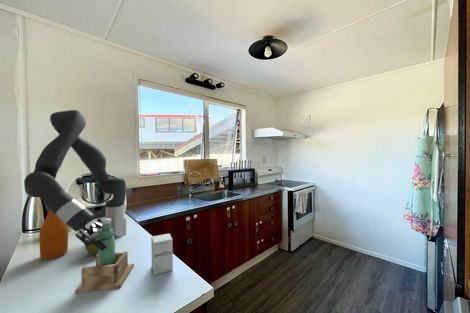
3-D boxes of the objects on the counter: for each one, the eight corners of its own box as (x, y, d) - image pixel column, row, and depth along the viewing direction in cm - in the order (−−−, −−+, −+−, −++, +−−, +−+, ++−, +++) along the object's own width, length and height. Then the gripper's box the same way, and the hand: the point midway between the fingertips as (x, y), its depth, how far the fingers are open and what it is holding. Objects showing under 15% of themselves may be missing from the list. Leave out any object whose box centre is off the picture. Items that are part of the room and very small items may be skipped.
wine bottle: (51, 261, 87) (50, 193, 87) (33, 259, 89) (32, 192, 89) (73, 251, 97) (72, 189, 97) (57, 249, 99) (56, 188, 98)
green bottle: (111, 269, 79) (110, 216, 78) (118, 274, 76) (117, 218, 76) (96, 276, 74) (95, 220, 74) (102, 281, 71) (101, 222, 71)
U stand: (133, 265, 83) (133, 249, 83) (120, 287, 69) (120, 267, 69) (96, 269, 81) (96, 252, 81) (75, 292, 67) (74, 272, 67)
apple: (107, 246, 102) (107, 224, 102) (112, 252, 95) (112, 229, 95) (83, 253, 95) (83, 230, 95) (86, 260, 88) (86, 235, 88)
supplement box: (153, 276, 76) (152, 242, 76) (151, 266, 82) (151, 236, 82) (173, 270, 79) (172, 238, 79) (170, 261, 86) (169, 232, 86)
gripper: (71, 212, 67) (109, 244, 69) (93, 202, 81) (125, 229, 83) (53, 229, 66) (92, 261, 68) (79, 216, 80) (111, 243, 82)
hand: (110, 243), depth 75 cm, fingers open, 8 cm apart
